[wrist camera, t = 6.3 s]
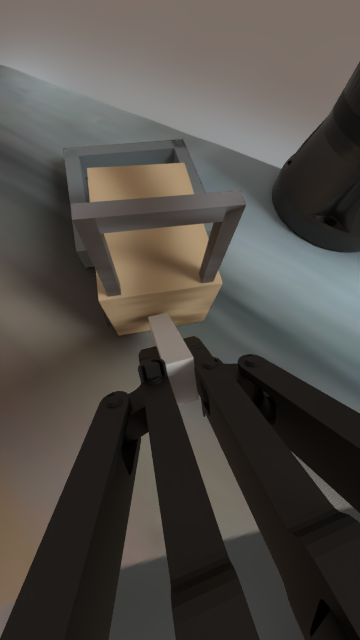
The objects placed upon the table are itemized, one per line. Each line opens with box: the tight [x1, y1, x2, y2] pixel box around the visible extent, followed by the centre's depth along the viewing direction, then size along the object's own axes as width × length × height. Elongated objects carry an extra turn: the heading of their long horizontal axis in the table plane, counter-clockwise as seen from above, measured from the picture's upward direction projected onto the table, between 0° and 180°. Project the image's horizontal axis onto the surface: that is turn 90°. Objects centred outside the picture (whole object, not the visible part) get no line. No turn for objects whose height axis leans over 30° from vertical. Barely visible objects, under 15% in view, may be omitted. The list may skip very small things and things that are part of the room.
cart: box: [71, 163, 246, 336], centre depth 16 cm, size 9×12×13 cm
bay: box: [63, 139, 213, 268], centre depth 24 cm, size 14×14×2 cm
